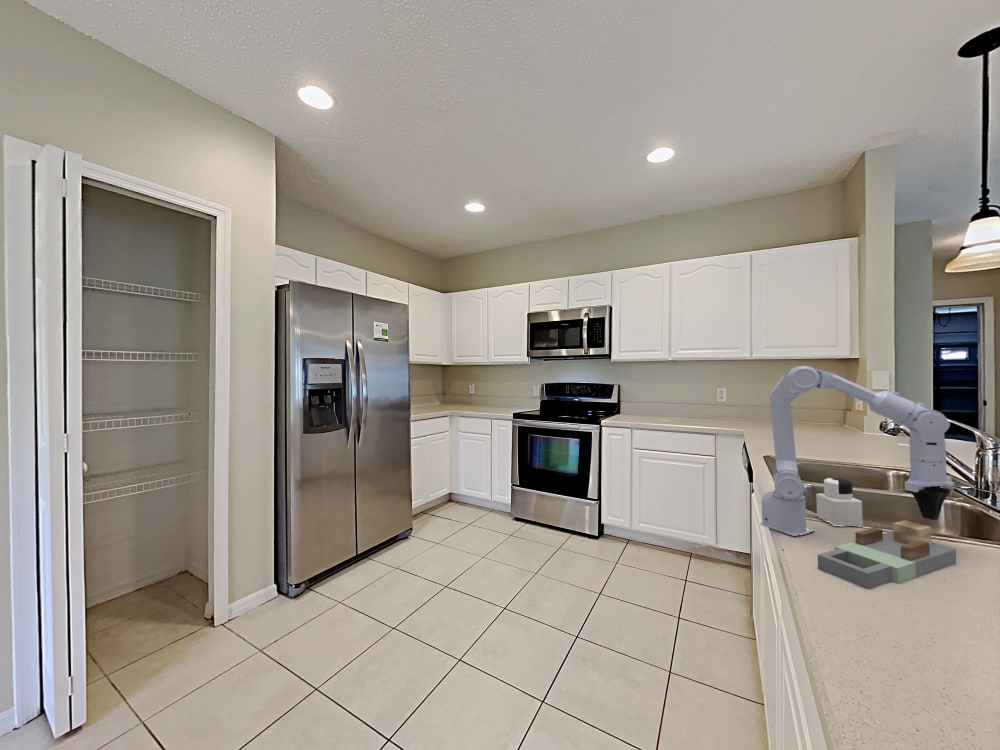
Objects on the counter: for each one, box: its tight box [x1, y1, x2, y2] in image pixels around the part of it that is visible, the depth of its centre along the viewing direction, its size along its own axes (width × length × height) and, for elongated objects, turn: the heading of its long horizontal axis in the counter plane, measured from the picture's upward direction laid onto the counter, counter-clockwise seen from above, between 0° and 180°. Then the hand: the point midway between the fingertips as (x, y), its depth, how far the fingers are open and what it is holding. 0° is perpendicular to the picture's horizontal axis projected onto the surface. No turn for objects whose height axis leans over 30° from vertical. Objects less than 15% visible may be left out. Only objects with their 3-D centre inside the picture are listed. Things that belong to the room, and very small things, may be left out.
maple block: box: [892, 519, 932, 545], centre depth 90 cm, size 4×4×4 cm
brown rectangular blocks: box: [855, 526, 930, 561], centre depth 87 cm, size 10×7×2 cm
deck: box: [817, 530, 957, 590], centre depth 87 cm, size 11×28×3 cm, turn 110°
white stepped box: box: [816, 477, 864, 528], centre depth 111 cm, size 7×7×12 cm
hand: (930, 518), depth 93 cm, fingers closed
